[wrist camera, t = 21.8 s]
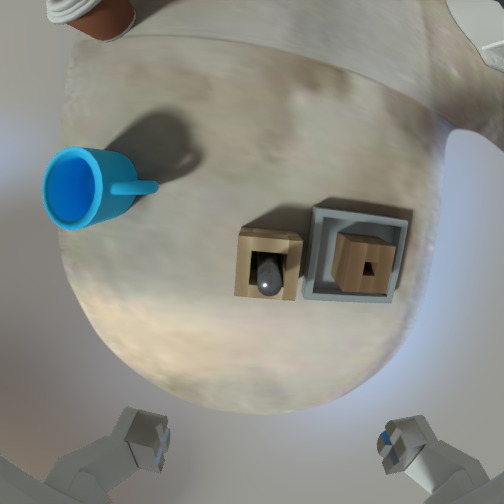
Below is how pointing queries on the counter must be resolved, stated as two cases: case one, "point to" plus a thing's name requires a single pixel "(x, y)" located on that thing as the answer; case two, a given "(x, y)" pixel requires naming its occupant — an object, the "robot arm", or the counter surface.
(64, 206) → the mug
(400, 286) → the counter surface
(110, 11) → the coffee cup
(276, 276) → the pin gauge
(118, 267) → the counter surface
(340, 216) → the tray
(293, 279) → the block
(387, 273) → the block
